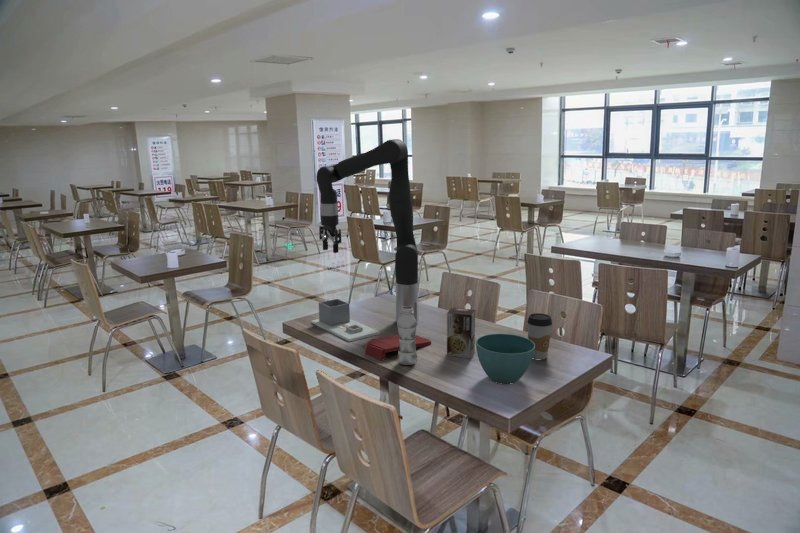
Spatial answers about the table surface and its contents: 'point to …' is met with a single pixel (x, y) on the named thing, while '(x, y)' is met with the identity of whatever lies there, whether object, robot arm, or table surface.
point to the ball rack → (341, 321)
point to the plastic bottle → (407, 337)
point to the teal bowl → (505, 356)
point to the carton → (389, 345)
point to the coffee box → (461, 332)
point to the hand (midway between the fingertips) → (330, 251)
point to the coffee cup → (539, 333)
